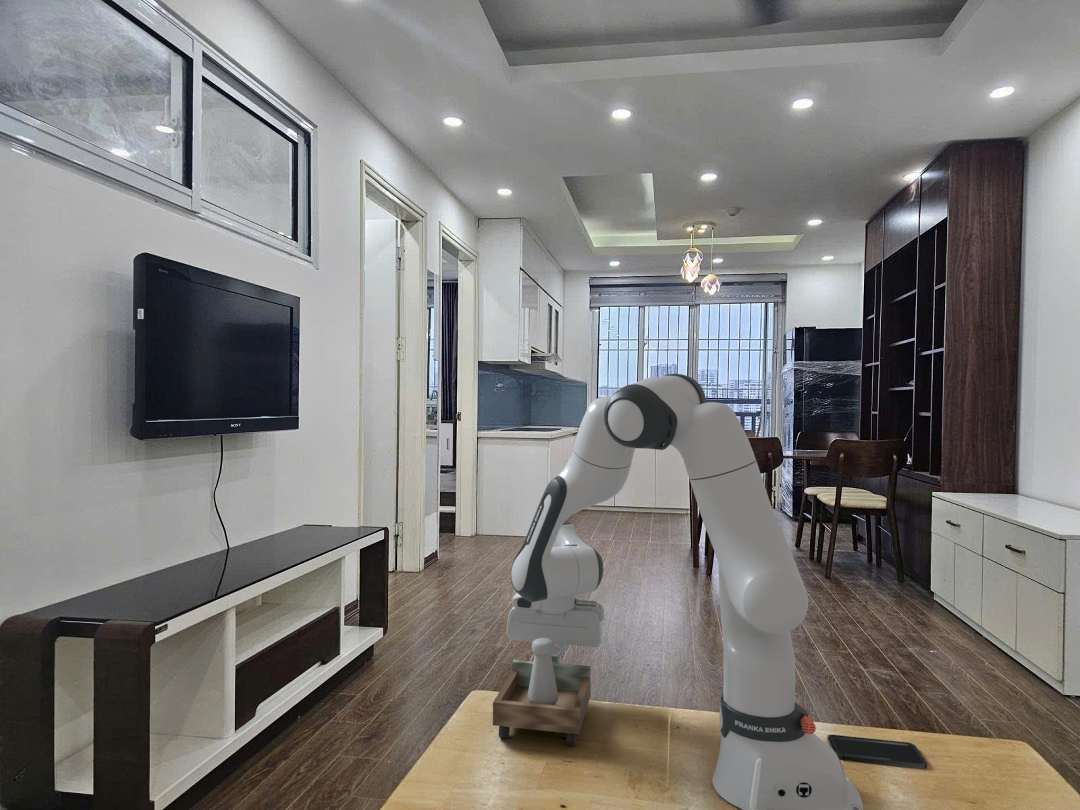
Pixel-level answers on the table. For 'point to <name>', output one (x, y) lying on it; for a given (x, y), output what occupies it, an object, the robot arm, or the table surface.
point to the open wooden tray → (560, 717)
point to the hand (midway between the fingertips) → (553, 663)
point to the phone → (877, 751)
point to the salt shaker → (543, 674)
